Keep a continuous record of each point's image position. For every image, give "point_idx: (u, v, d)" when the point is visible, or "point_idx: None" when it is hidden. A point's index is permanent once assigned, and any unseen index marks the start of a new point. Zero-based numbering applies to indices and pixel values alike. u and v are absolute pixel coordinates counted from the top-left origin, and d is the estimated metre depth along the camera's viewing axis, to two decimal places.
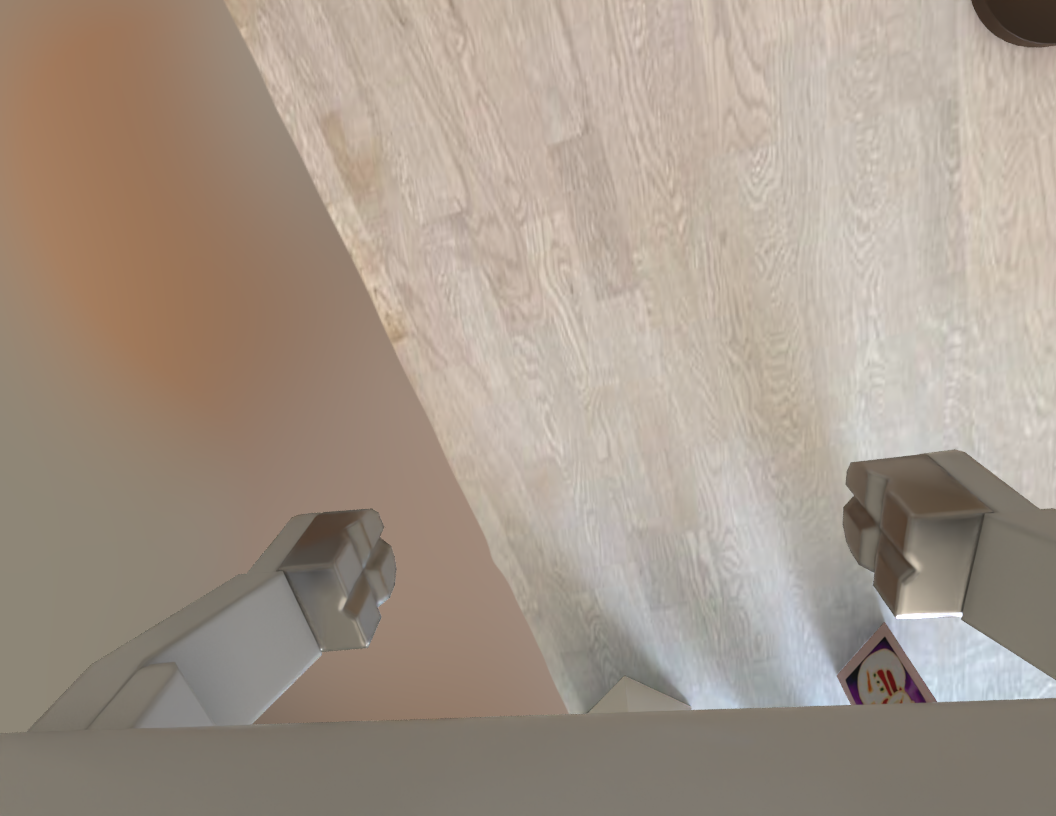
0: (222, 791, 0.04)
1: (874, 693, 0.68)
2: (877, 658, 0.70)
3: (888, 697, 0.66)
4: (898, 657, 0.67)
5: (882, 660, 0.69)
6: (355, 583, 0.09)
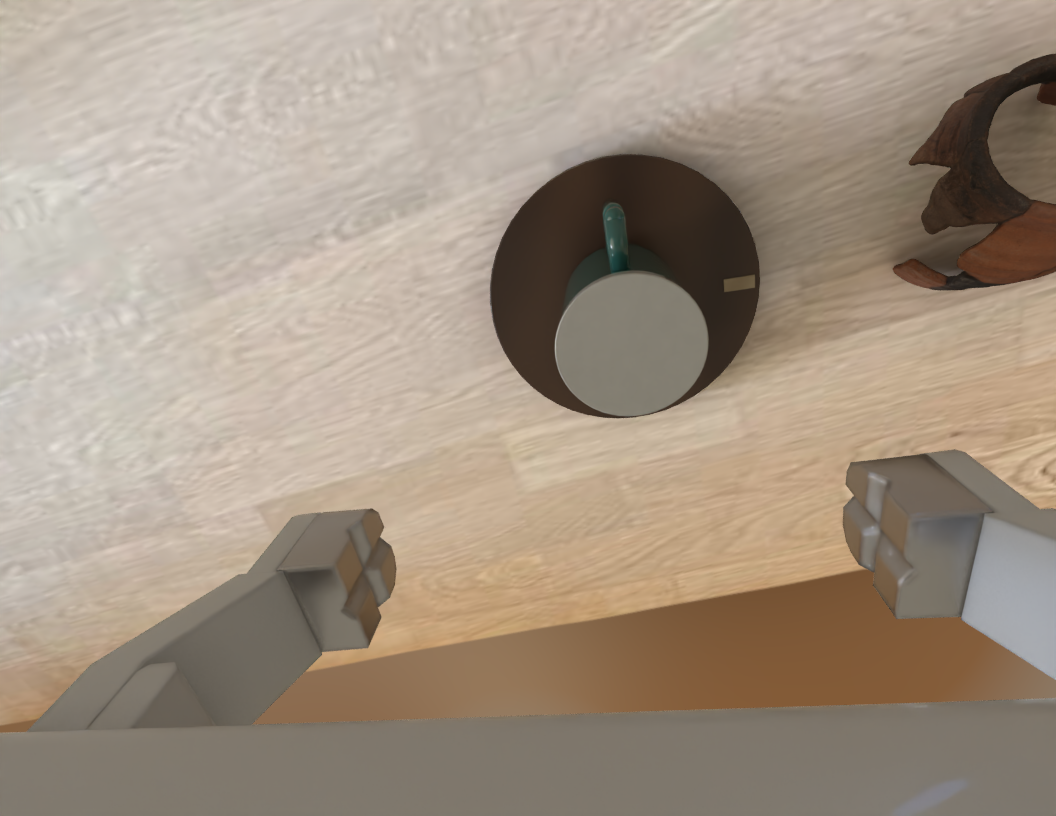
0: (222, 792, 0.04)
1: None
2: None
3: None
4: None
5: None
6: (355, 583, 0.09)
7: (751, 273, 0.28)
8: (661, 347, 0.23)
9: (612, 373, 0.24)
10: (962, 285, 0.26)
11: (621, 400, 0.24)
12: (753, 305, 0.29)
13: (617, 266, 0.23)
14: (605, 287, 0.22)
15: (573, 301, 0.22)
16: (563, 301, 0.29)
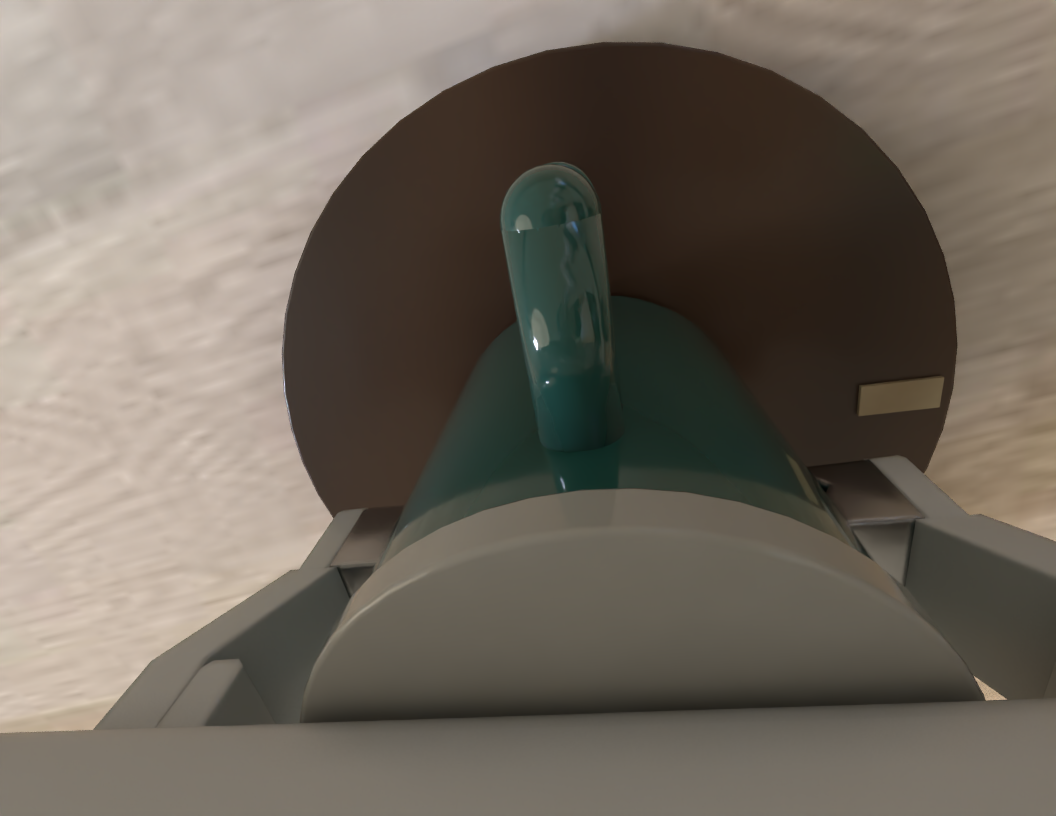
0: (222, 792, 0.04)
1: None
2: None
3: None
4: None
5: None
6: None
7: (935, 373, 0.11)
8: None
9: None
10: None
11: None
12: (927, 447, 0.12)
13: (566, 438, 0.05)
14: (494, 582, 0.04)
15: (347, 622, 0.05)
16: None
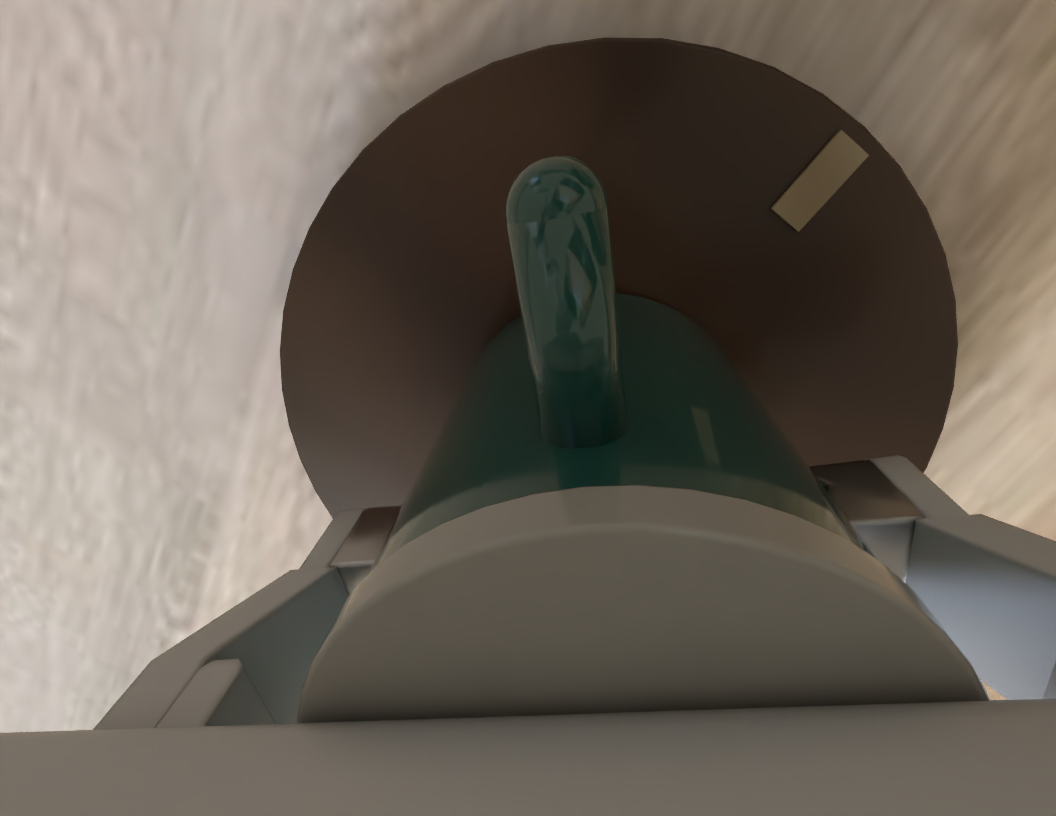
0: (222, 791, 0.04)
1: None
2: None
3: None
4: None
5: None
6: None
7: (829, 134, 0.09)
8: None
9: None
10: None
11: None
12: (903, 193, 0.10)
13: (570, 434, 0.05)
14: (497, 580, 0.04)
15: (347, 619, 0.05)
16: None
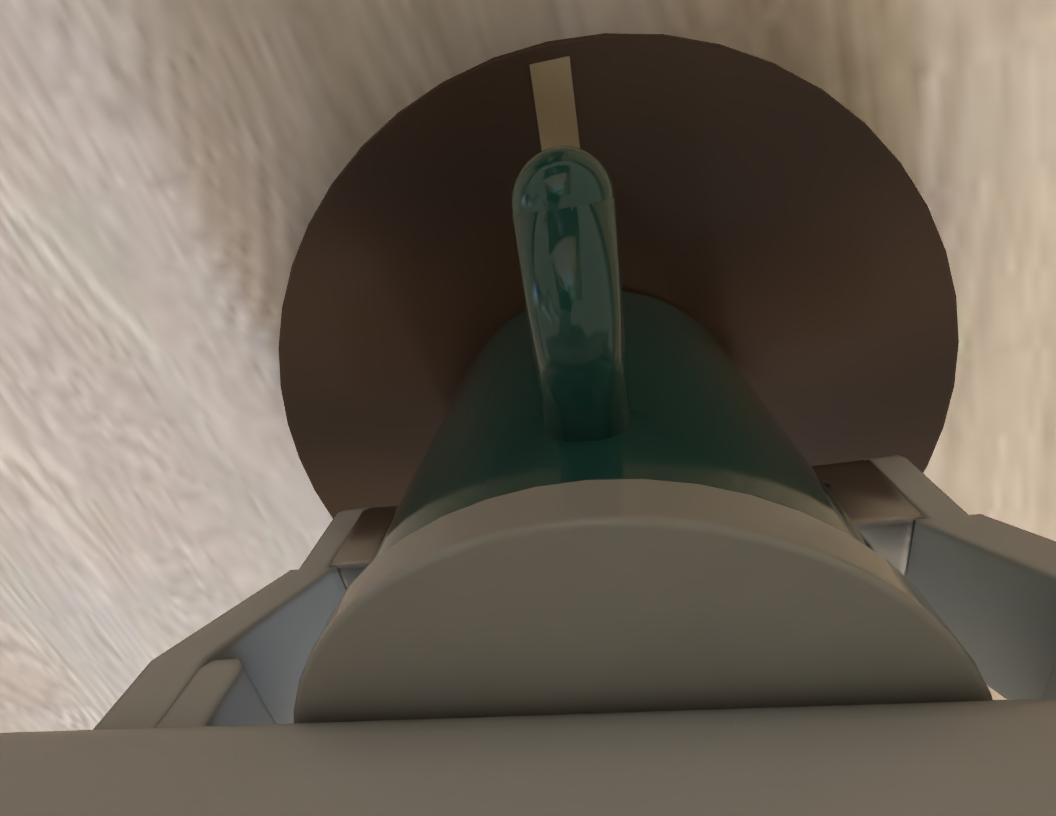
0: (222, 792, 0.04)
1: None
2: None
3: None
4: None
5: None
6: None
7: (526, 76, 0.09)
8: None
9: None
10: None
11: None
12: (629, 47, 0.09)
13: (573, 428, 0.05)
14: (499, 572, 0.04)
15: (346, 611, 0.04)
16: None
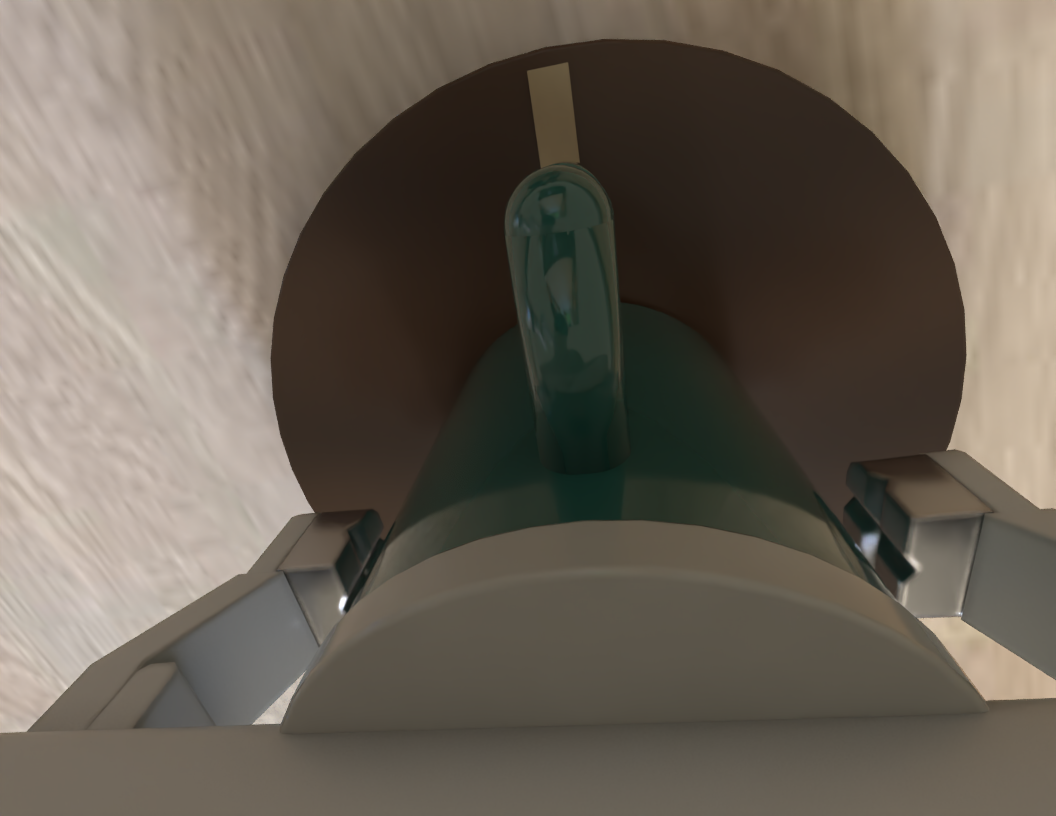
0: (222, 791, 0.04)
1: None
2: None
3: None
4: None
5: None
6: (355, 583, 0.09)
7: (523, 82, 0.09)
8: None
9: None
10: None
11: None
12: (629, 53, 0.09)
13: (569, 460, 0.05)
14: (489, 622, 0.04)
15: (328, 659, 0.04)
16: None
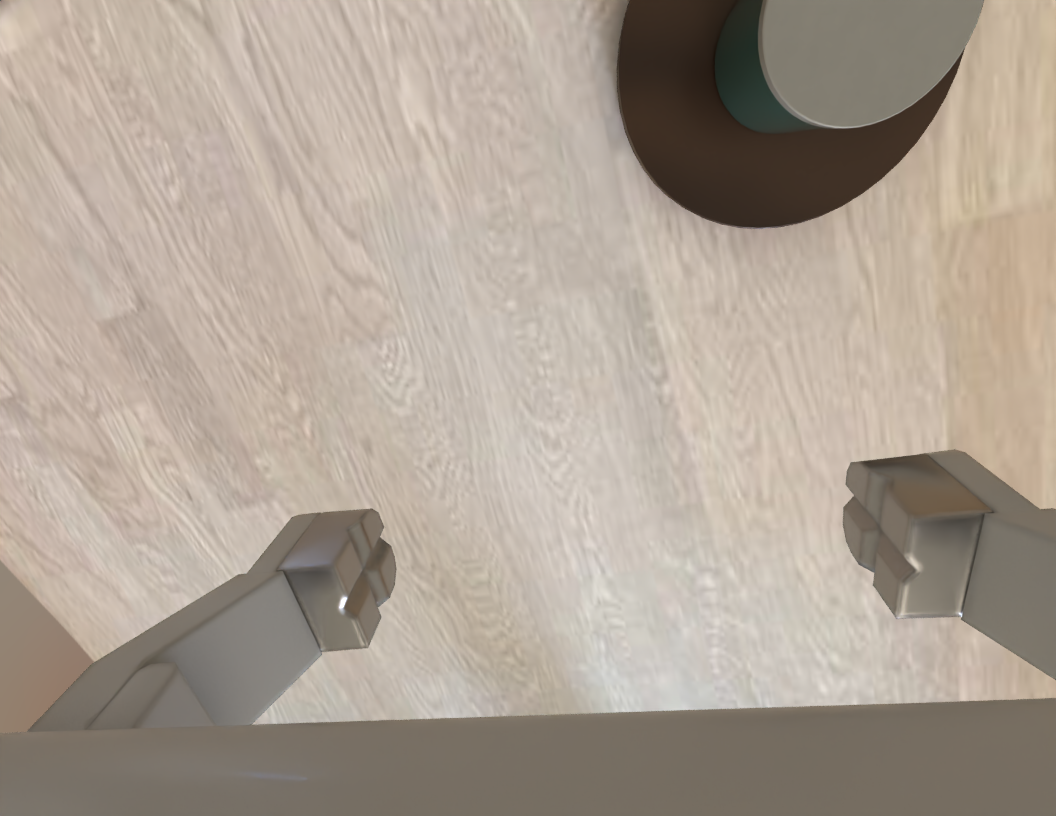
0: (222, 791, 0.04)
1: None
2: None
3: None
4: None
5: None
6: (355, 583, 0.09)
7: None
8: (917, 5, 0.17)
9: (838, 53, 0.17)
10: None
11: (842, 99, 0.18)
12: None
13: None
14: None
15: None
16: (724, 36, 0.22)
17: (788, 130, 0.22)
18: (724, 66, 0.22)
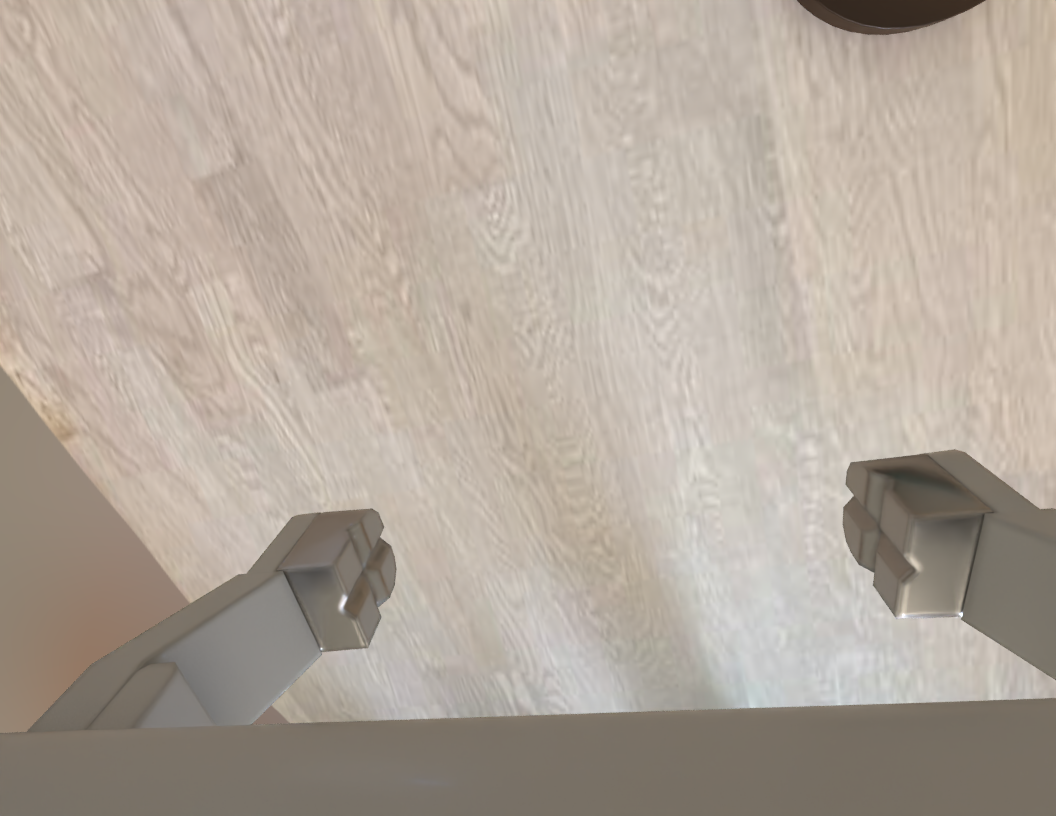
0: (222, 791, 0.04)
1: None
2: None
3: None
4: None
5: None
6: (355, 583, 0.09)
7: None
8: None
9: None
10: None
11: None
12: None
13: None
14: None
15: None
16: None
17: None
18: None
